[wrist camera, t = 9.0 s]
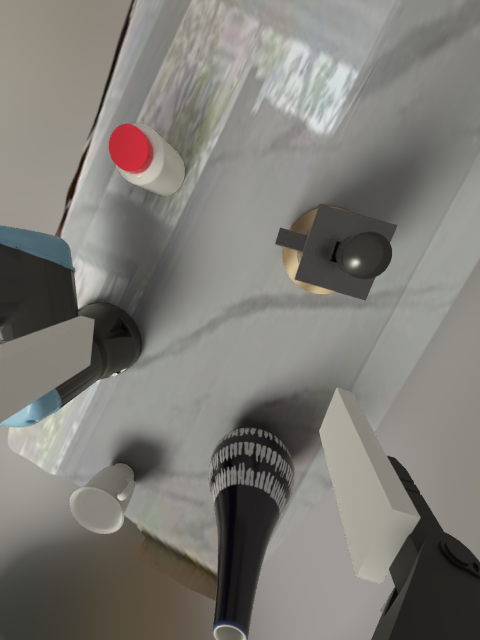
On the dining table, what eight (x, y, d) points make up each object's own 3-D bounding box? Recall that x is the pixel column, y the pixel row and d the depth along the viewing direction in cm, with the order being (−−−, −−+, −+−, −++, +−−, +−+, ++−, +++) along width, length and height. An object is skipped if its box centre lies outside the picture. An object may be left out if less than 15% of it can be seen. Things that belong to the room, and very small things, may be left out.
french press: (270, 265, 46) (266, 272, 34) (286, 210, 44) (289, 194, 31) (342, 286, 45) (365, 301, 33) (363, 231, 43) (398, 224, 30)
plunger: (298, 268, 43) (312, 284, 24) (313, 222, 41) (341, 201, 22) (342, 281, 42) (390, 307, 24) (360, 235, 40) (428, 224, 22)
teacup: (165, 477, 63) (145, 518, 53) (121, 499, 67) (95, 541, 57) (133, 438, 61) (106, 473, 52) (90, 463, 65) (57, 501, 56)
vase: (206, 453, 59) (140, 638, 31) (238, 398, 55) (193, 559, 27) (270, 487, 59) (260, 703, 31) (307, 435, 55) (335, 635, 26)
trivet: (272, 280, 48) (272, 280, 47) (297, 197, 44) (298, 196, 43) (349, 303, 47) (350, 304, 46) (383, 220, 43) (385, 220, 42)
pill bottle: (134, 157, 46) (90, 130, 35) (174, 136, 44) (141, 102, 33) (153, 202, 47) (116, 190, 37) (192, 185, 45) (165, 166, 35)
